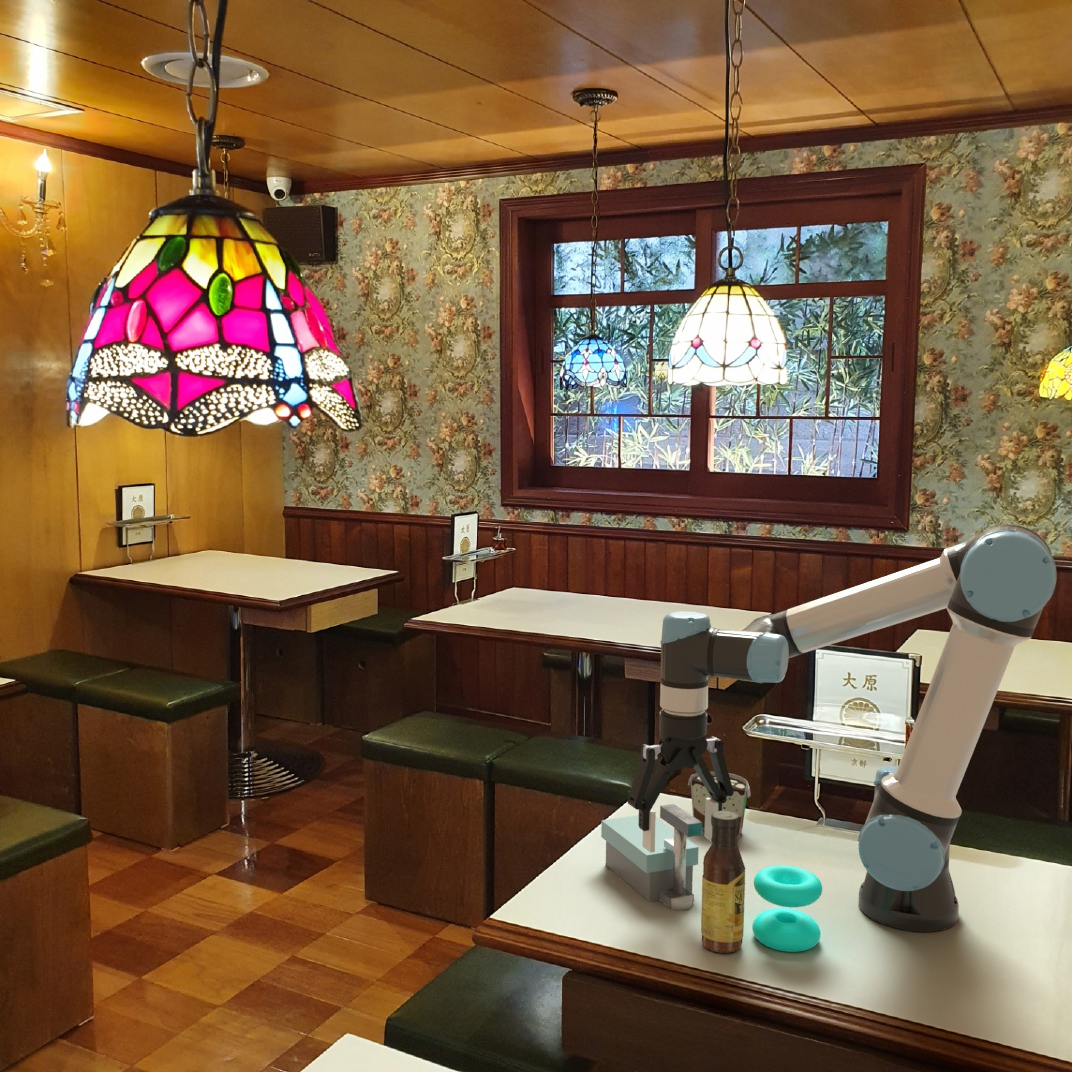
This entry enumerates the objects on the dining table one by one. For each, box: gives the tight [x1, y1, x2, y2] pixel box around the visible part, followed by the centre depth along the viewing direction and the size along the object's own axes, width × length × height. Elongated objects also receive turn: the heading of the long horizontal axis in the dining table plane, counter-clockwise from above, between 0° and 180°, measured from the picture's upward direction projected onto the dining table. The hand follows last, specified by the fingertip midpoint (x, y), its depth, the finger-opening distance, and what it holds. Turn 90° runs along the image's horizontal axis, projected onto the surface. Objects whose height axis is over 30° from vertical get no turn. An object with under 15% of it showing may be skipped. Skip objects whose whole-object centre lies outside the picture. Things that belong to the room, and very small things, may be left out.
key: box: [659, 803, 703, 895], centre depth 175 cm, size 9×2×13 cm, turn 23°
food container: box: [687, 771, 752, 838], centre depth 209 cm, size 12×6×10 cm, turn 58°
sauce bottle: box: [700, 811, 746, 954], centre depth 161 cm, size 6×6×20 cm
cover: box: [600, 814, 699, 873], centre depth 185 cm, size 17×10×3 cm, turn 23°
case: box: [605, 840, 695, 911], centre depth 183 cm, size 21×8×5 cm, turn 23°
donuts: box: [751, 864, 823, 953], centre depth 164 cm, size 10×10×10 cm
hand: (680, 844), depth 175 cm, fingers open, 11 cm apart
